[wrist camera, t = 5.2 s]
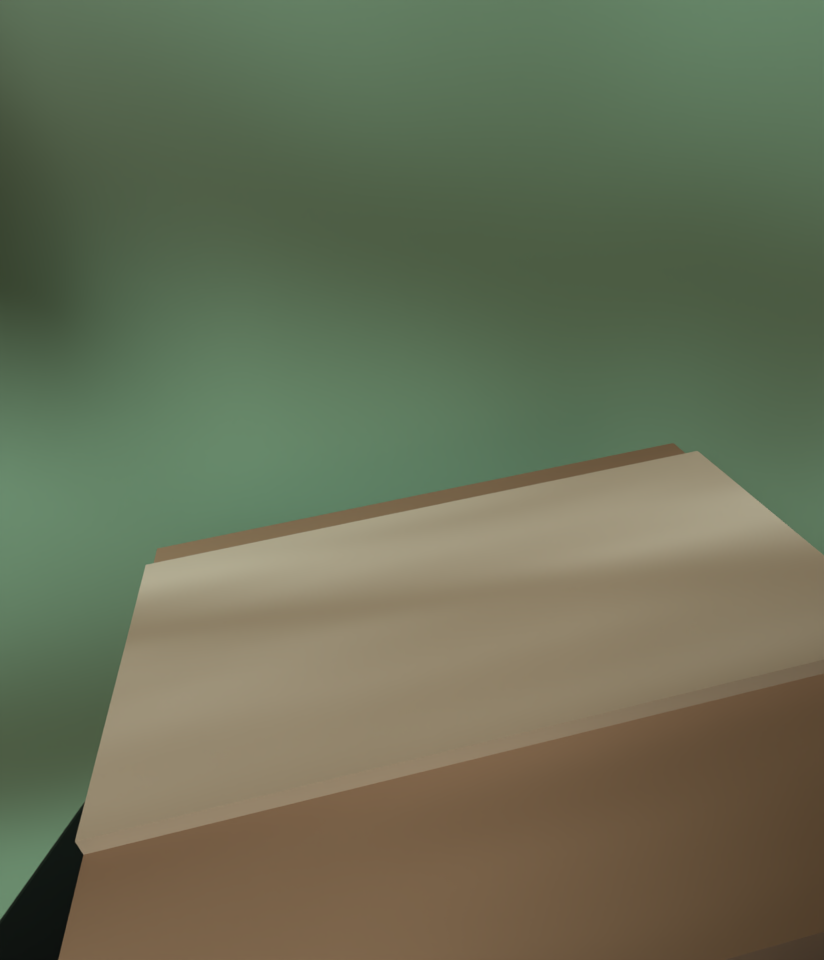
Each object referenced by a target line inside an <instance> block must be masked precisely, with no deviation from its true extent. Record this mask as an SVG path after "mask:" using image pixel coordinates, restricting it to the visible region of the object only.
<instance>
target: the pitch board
mask: <svg viewBox="0 0 824 960" xmlns="http://www.w3.org/2000/svg"><path fill="white" fill-rule="evenodd" d="M671 443H674V444H675V445H676V446H678V447H679V448H680V449H681V450H682V451H683V452H685V453H689V452H694V451H698V452H700V453H701V454H702V455H703V456H704V457H706V458H707V459H708V460H709V461H711V462H712V463H713V464H714V465H715V466H717V467H718V468H719V469H720V470H721V471H723V472H724V473H725V474H726V475H727V476H729V477H730V478H731V479H732V480H733V481H735V482H736V483H737V484H738V485H740V486H741V487H742V488H743V489H744V490H746V491H747V492H748V493H749V494H750V495H752V496H753V497H754V498H755V499H756V500H758V501H759V502H760V503H761V504H762V505H764V506H765V507H766V508H767V509H768V510H770V511H771V512H772V513H773V514H775V515H776V516H777V517H778V518H779V519H781V520H782V521H783V522H784V523H785V524H787V525H788V526H789V527H790V528H791V529H793V530H794V531H795V532H796V533H797V534H799V535H800V536H801V537H802V538H804V539H805V540H806V541H807V542H808V543H810V544H811V545H812V546H813V547H814V548H816V549H817V550H818V551H819V552H820V553H822V554H823V555H824V0H0V919H1V918H2V917H3V915H4V914H5V912H6V911H7V910H8V908H9V907H10V905H11V904H12V903H13V901H14V900H15V898H16V897H17V895H18V894H19V893H20V891H21V890H22V888H23V887H24V886H25V884H26V883H27V881H28V880H29V879H30V877H31V876H32V874H33V873H34V872H35V870H36V869H37V867H38V866H39V865H40V863H41V862H42V860H43V859H44V858H45V856H46V855H47V853H48V852H49V851H50V849H51V848H52V846H53V845H54V844H55V842H56V841H57V839H58V838H59V837H60V835H61V834H62V832H63V831H64V830H65V828H66V827H67V825H68V824H69V823H70V821H71V820H72V818H73V817H74V816H75V814H76V813H77V811H78V810H79V809H80V807H81V806H82V804H83V803H84V802H85V800H86V796H87V792H88V788H89V784H90V781H91V777H92V773H93V769H94V765H95V761H96V757H97V753H98V749H99V745H100V741H101V738H102V734H103V730H104V726H105V722H106V718H107V714H108V710H109V706H110V702H111V699H112V695H113V691H114V687H115V683H116V679H117V675H118V671H119V667H120V663H121V659H122V656H123V652H124V648H125V644H126V640H127V636H128V632H129V628H130V624H131V620H132V616H133V613H134V609H135V605H136V601H137V597H138V593H139V589H140V585H141V581H142V577H143V574H144V570H145V566H146V565H147V564H152V563H154V559H155V555H156V551H157V548H162V547H167V546H172V545H177V544H182V543H187V542H191V541H196V540H201V539H206V538H211V537H216V536H221V535H226V534H231V533H235V532H240V531H245V530H250V529H255V528H260V527H265V526H270V525H275V524H279V523H284V522H289V521H294V520H299V519H304V518H309V517H314V516H319V515H323V514H328V513H333V512H338V511H343V510H348V509H353V508H358V507H363V506H367V505H372V504H377V503H382V502H387V501H392V500H397V499H402V498H407V497H411V496H416V495H421V494H426V493H431V492H436V491H441V490H446V489H451V488H455V487H460V486H465V485H470V484H475V483H480V482H485V481H490V480H495V479H499V478H504V477H509V476H514V475H519V474H524V473H529V472H534V471H539V470H543V469H548V468H553V467H558V466H563V465H568V464H573V463H578V462H583V461H588V460H592V459H597V458H602V457H607V456H612V455H617V454H622V453H627V452H632V451H636V450H641V449H646V448H651V447H656V446H661V445H666V444H671Z"/></svg>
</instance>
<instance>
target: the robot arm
mask: <svg viewBox="0 0 824 960" xmlns="http://www.w3.org/2000/svg"><path fill="white" fill-rule="evenodd" d="M84 804H85V802H84V803H83V804H82V806H81V807H80V809H79V810H78V811H77V813H76V814H75V816H74V817H73V818H72V820H71V821H70V823H69V824H68V825H67V827H66V828H65V830H64V831H63V832H62V834H61V835H60V837H59V838H58V839H57V841H56V842H55V844H54V845H53V846H52V848H51V849H50V851H49V852H48V853H47V855H46V856H45V858H44V859H43V860H42V862H41V863H40V865H39V866H38V867H37V869H36V870H35V872H34V873H33V874H32V876H31V877H30V879H29V880H28V881H27V883H26V884H25V886H24V887H23V888H22V890H21V891H20V893H19V894H18V895H17V897H16V898H15V900H14V901H13V903H12V904H11V905H10V907H9V908H8V910H7V911H6V912H5V914H4V915H3V917H2V918H1V919H0V960H58V959H59V955H60V951H61V946H62V942H63V938H64V934H65V930H66V926H67V921H68V917H69V913H70V909H71V905H72V901H73V896H74V892H75V888H76V884H77V880H78V876H79V871H80V867H81V863H82V859H83V853H82V852H81V850H80V848H79V847H78V845H77V844H76V842H75V839H76V835H77V831H78V827H79V823H80V820H81V816H82V812H83V808H84Z"/></svg>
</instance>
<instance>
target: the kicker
mask: <svg viewBox="0 0 824 960" xmlns="http://www.w3.org/2000/svg"><path fill="white" fill-rule="evenodd" d="M75 842H76V844H77V845H78V847H79V848H80V850H81V852H82V853H83V859H82V863H81V867H80V871H79V876H78V880H77V884H76V888H75V892H74V896H73V901H72V905H71V909H70V913H69V917H68V921H67V926H66V930H65V934H64V938H63V942H62V946H61V951H60V955H59V959H58V960H824V555H823V554H822V553H820V552H819V551H818V550H817V549H816V548H814V547H813V546H812V545H811V544H810V543H808V542H807V541H806V540H805V539H804V538H802V537H801V536H800V535H799V534H797V533H796V532H795V531H794V530H793V529H791V528H790V527H789V526H788V525H787V524H785V523H784V522H783V521H782V520H781V519H779V518H778V517H777V516H776V515H775V514H773V513H772V512H771V511H770V510H768V509H767V508H766V507H765V506H764V505H762V504H761V503H760V502H759V501H758V500H756V499H755V498H754V497H753V496H752V495H750V494H749V493H748V492H747V491H746V490H744V489H743V488H742V487H741V486H740V485H738V484H737V483H736V482H735V481H733V480H732V479H731V478H730V477H729V476H727V475H726V474H725V473H724V472H723V471H721V470H720V469H719V468H718V467H717V466H715V465H714V464H713V463H712V462H711V461H709V460H708V459H707V458H706V457H704V456H703V455H702V454H701V453H700V452H698V451H694V452H689V453H685V452H683V451H682V450H681V449H680V448H679V447H678V446H676V445H675V444H674V443H671V444H666V445H661V446H656V447H651V448H646V449H641V450H636V451H632V452H627V453H622V454H617V455H612V456H607V457H602V458H597V459H592V460H588V461H583V462H578V463H573V464H568V465H563V466H558V467H553V468H548V469H543V470H539V471H534V472H529V473H524V474H519V475H514V476H509V477H504V478H499V479H495V480H490V481H485V482H480V483H475V484H470V485H465V486H460V487H455V488H451V489H446V490H441V491H436V492H431V493H426V494H421V495H416V496H411V497H407V498H402V499H397V500H392V501H387V502H382V503H377V504H372V505H367V506H363V507H358V508H353V509H348V510H343V511H338V512H333V513H328V514H323V515H319V516H314V517H309V518H304V519H299V520H294V521H289V522H284V523H279V524H275V525H270V526H265V527H260V528H255V529H250V530H245V531H240V532H235V533H231V534H226V535H221V536H216V537H211V538H206V539H201V540H196V541H191V542H187V543H182V544H177V545H172V546H167V547H162V548H157V551H156V555H155V559H154V563H152V564H147V565H146V566H145V570H144V574H143V577H142V581H141V585H140V589H139V593H138V597H137V601H136V605H135V609H134V613H133V616H132V620H131V624H130V628H129V632H128V636H127V640H126V644H125V648H124V652H123V656H122V659H121V663H120V667H119V671H118V675H117V679H116V683H115V687H114V691H113V695H112V699H111V702H110V706H109V710H108V714H107V718H106V722H105V726H104V730H103V734H102V738H101V741H100V745H99V749H98V753H97V757H96V761H95V765H94V769H93V773H92V777H91V781H90V784H89V788H88V792H87V796H86V800H85V804H84V808H83V812H82V816H81V820H80V823H79V827H78V831H77V835H76V839H75Z"/></svg>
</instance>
